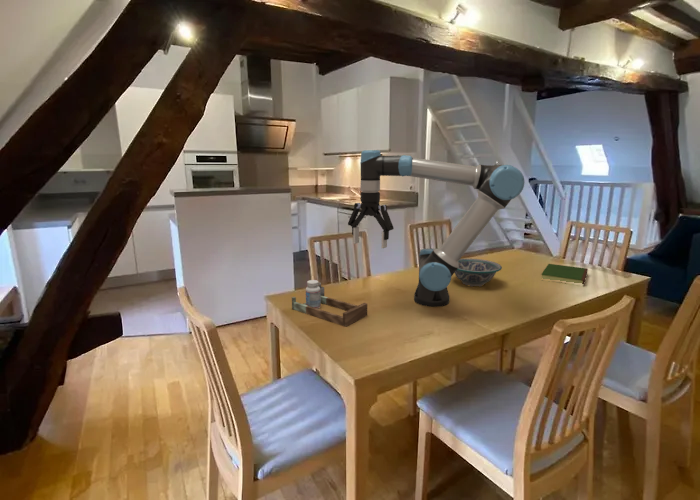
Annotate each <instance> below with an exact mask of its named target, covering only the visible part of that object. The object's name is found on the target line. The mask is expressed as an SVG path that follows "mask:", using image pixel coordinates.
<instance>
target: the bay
mask: <svg viewBox="0 0 700 500" xmlns="http://www.w3.org/2000/svg"><path fill="white" fill-rule="evenodd" d="M318 286H319V287H320V295H321V304H322V305H326V306H328V307H332V308H336V309H338V310H342V311H344V312H342V315H340V314H336V313H334V312H330V311H326V310H324V309H323V310H322V309H320V308H318V309H317V308H314V307H311V306H307V305H306V302H304V303H301V302H299V301H298V302H297V297H296V296H293V297H291V310H293V311H297V312H299V313H302V314H306V315H309V316H312V317H315V318H318V319H322V320H324V321H328V322H331V323H334V324H337V325H340V326H343V327H348V326H350V325H352V324H354V323H356V322H357V321H360V320H362V319H363V318H365V317H367V316H368V303H366V302H363V303H360V304H358V305H356V304H354V303H350V302H346V301H343V300H338V299H335V298H331V297H328V296H325V287H324V286H322V282H321V281H318Z"/></svg>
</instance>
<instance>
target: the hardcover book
mask: <svg viewBox="0 0 700 500" xmlns="http://www.w3.org/2000/svg"><path fill="white" fill-rule="evenodd" d="M588 270H589V268H587V267H586V268H585V267H578V266H569V265H562V264H556V263H547V265H546V267H544V270H543V271H542V273H541V274H540V275H541V279H542V278H543V279H550V280H560V281H566V282H574V283H582V284H584V285H585V283H586V280H585V278H587V276H588ZM586 275H587V276H586ZM584 282H585V283H584Z"/></svg>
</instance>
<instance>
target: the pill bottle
mask: <svg viewBox="0 0 700 500" xmlns="http://www.w3.org/2000/svg"><path fill="white" fill-rule="evenodd" d="M318 282H319V281H318V280H316V279H309V280H307V281H306V288H305V303H306V305H307V306H311V307H314V308H317V309H320V308H321V306H322V305H321V304H322V303H321V295H320V287H319V286H318Z"/></svg>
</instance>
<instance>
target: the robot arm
mask: <svg viewBox="0 0 700 500" xmlns="http://www.w3.org/2000/svg"><path fill="white" fill-rule="evenodd" d="M386 176H387V177H389V176H390V177H412V178H418V179H427V180H432V181H438V182H446V183H452V184H459V185H465V186H471V187H472V188H473V189H474V190H477V195H478V196H477V198H476V199H475V200H474V202H473V203H472V204H471V206H470V207H469V209H468V210H467V211H466V212H465V214H464V215H463V216H462V218H460V220H459V221H458V223H457V225H456V226H455V227H454V229H452V231H451V233H450V234H449V235H448V236H447V238H445V240H444V241H443V243H442V244H441V245H440V247H439V248H422V249H420V251H419V255H418V257H419V261H418V262H419V263H418V264H419V265H418V284H417V286H416V289H415V292H414V295H413V301H414V302H415V303H416V304H418V305H420V306H424V307H429V308H431V307H432V308H438V307H439V308H440V307H446V306H447V305H449V303H450V293H449V290H448V286H449V285H450V283H451V281H452V277H453V275H455V271H456V270H457V269H458V267H459V265H458V261H459V259H462V257H463V256H464V255H465V253H466V252H467V251H468V249H469V248H470V246H471V245H472V244H473V243H474V241H475V240H476V239H477V237H478V236H479V235H480V234H481V233H482V231H483V230H484V228H485V227H486V226H487V224H489V222H490V221H491V219H492V218H493V217H494V215H495V214H496V213H497V212H498V211H500V210H504V209H506V207H507V206H508V205H509V204H510V202H511V201H512V200H513V199H515V198H516V197H518V196H519V195H520V194H521V193H522V192H523V190H524V187H525V178H524V175H523V173H522V171H521V170H520V169H518V168H517V167H515V166H514V165H511V164H496V165H493V164H491V165H489V164H488V165H487V164H478V165H477V166H475V165H474V166H473V165H467V164H459V163H452V162H446V161H440V160H439V161H438V160H433V159H424V158H418V157H413V156H411V155H404V154H403V155H399V154H398V155H382V153H381V150H379V149H377V150H375V149H374V150H373V149H372V150H371V149H368V150H367V149H365V150H362V151H361V153H360V185H359V186H360V191H361V192H360V202H355V203H354V204H353V210H352V212H351V215H350V217H349V220H348V222H347V225H348V226H350V227H351V234H352V237H353V239H352V240H353V241H352V242H353V245H356V244H359V243H360V227H359V224H361V222H362V221H363V219H364V217H366V216H370V217H373V218H375V220H376V221H377V223H378V224H379V226H380V227H381V229H382V231H381V249H385V248H387V247H388V240H389V238H390V231H393V230H394V225H393V223H392V220H391V218H390V215H389V213H388V207H387V204H383V205H382V204H381V205H380V201H381V193H380V192H379V191H381V177H386ZM360 210H361V211H360Z"/></svg>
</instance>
